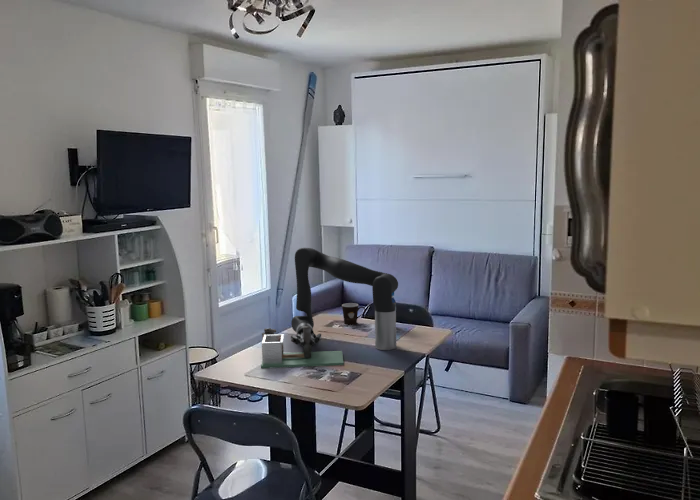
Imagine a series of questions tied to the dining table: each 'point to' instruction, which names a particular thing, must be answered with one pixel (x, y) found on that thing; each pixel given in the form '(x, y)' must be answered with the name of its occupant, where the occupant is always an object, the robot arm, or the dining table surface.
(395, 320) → the beverage bottle
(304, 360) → the board
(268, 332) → the lighter
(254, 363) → the dining table surface
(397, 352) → the dining table surface
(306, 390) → the dining table surface
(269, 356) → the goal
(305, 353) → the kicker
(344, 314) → the coffee mug
